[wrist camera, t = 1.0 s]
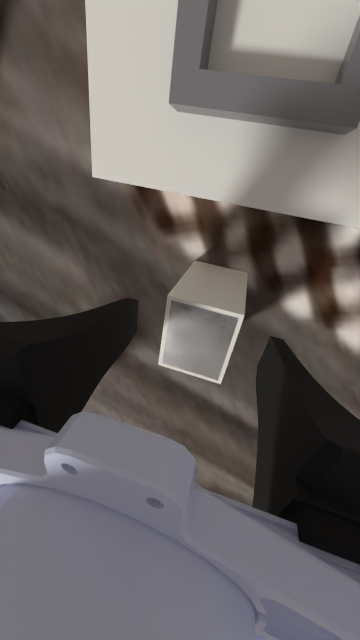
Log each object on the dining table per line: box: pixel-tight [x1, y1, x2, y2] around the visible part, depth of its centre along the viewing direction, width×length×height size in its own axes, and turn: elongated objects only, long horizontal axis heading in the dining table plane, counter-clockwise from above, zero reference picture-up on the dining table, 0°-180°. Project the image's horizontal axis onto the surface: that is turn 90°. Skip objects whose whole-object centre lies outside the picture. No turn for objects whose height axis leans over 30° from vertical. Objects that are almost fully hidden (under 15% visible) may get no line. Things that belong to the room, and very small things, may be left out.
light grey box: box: [158, 261, 248, 384], centre depth 14 cm, size 4×4×6 cm
